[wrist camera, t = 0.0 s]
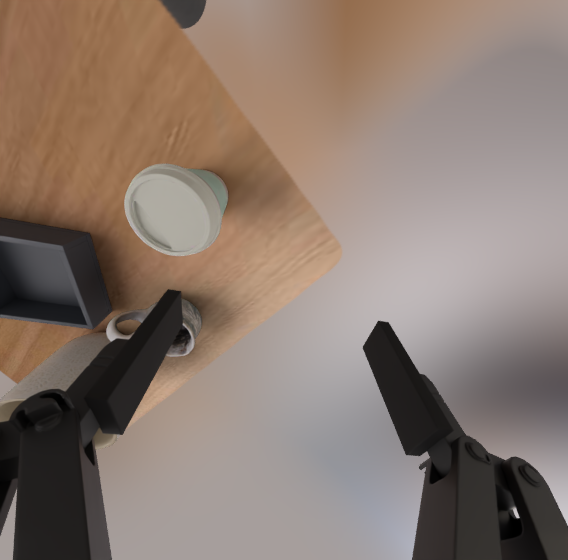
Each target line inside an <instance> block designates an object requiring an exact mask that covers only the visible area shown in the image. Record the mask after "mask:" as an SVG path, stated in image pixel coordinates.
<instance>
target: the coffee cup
mask: <svg viewBox="0 0 568 560" xmlns="http://www.w3.org/2000/svg"><path fill="white" fill-rule="evenodd" d="M227 203H228V190H227V187H226V185H225V183H224V182H223V180H222V179H221V178H220V177H219V176H218V175H216V174H215V173H213V172H211V171H208V170H199V169H185V168H183V167H180V166H176V165H172V164H157V165H153V166H150V167H148V168H146V169H144V170H143V171H141V172H140V173H139V174H137V175H136V176H135V178H134V179H133V180H132V182H131V184H130V186H129V188H128V190H127V192H126V195H125V201H124V204H125V212H126V216H127V219H128V221H129V223H130V225H131V227H132V229H133V230H134V232H135V233H136V234H137V235H138V236H139V238H140V239H141V240H142V241H144V242H145V243H146V244H147V245H149V246H150V247H152V248H153V249H155V250H157V251H159V252H162V253H164V254H168V255H173V256H186V255H190V254H195V253H199V252H201V251H203V250H205V249H206V248H208V247H209V246H210V245H211V244H212V243H213V242H214V241H215V240H216V238H217V237H218V235H219V232H220V229H221V222H222V216H223V214H224V211H225V208H226V205H227Z"/></svg>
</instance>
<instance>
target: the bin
mask: <svg viewBox="0 0 568 560" xmlns="http://www.w3.org/2000/svg"><path fill="white" fill-rule="evenodd" d="M111 312H112V308H111V304H110V301H109V298H108V294H107V291H106V287H105V284H104V280H103V277H102V274H101V270H100V267H99V263H98V260H97V256H96V253H95V249H94V246H93V243H92V239H91V236H90V233H86V232H80V231H74V230H69V229H63V228H57V227H51V226H46V225H40V224H34V223H28V222H22V221H17V220H11V219H5V218H0V318H7V319H15V320H23V321H31V322H39V323H47V324H55V325H63V326H71V327H79V328H87V329H94V328H95V327H97V326H98V325H99V324H100V323H101V322H102V321H103V320H104V319H105V318H106V317H107V316H108V315H109V314H110V313H111Z"/></svg>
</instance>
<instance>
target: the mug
mask: <svg viewBox="0 0 568 560" xmlns="http://www.w3.org/2000/svg"><path fill="white" fill-rule="evenodd" d="M181 300H182V315H183V325H182V326H181V328H180V330H179V332H178V334H177V336H176V337H175V339H174V341H173V343H172V345H171V347H170V348H169V350H168V352H167V354H166V356H171V357H176V356H184V355H187V354H189V353H190V352H191V351H192V349H193V348H194V346H195V339H196V337H197V336H198V334H199V332H200V329H201V325H202V318H201V315H200V313H199V311H198V309H197V308H196V307H195V306H194V305H193V304H191V303H190V302H188V301H187V300H184V299H181ZM158 302H159V301H158ZM158 302H156V303H155V304H153V305H151V306H150V307H149V308H147V309H138V310H131V311H127V312H123V313H121V314H119V315H117V316H115V317H114V318H113V319H112V320H111V321H110V322H109V324H108V326H107V330H106V334H107V337H108V339H109V340H110V341H111V342H112V341H113V340H115V339H116V338H121V339H130V338H131V336H132V335H133V334H134V332H133V333H132V334H130V335H123V334H122V333H120V332H119V331H118V330H117V326H116V324H117V323H119V322H122V321H124V320H129V319H131V320H137V321H139V322H141V323H142V322H143V321H144V320H145V318H146V317H147V316H148V314H149V313H150V312H151V311H152V309H153V308H154V307H155V305H156V304H157V303H158Z"/></svg>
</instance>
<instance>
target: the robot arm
mask: <svg viewBox="0 0 568 560" xmlns="http://www.w3.org/2000/svg"><path fill="white" fill-rule="evenodd" d="M182 325H183V315H182V300H181V291H175V290H169V289H168V290H167V291H166V293H165V294H164V295H163V296H162V298H161V299H160V300H159V302H158V303H157V304H156V305H155V307H154V308H153V309H152V311H151V312H150V313H149V314H148V316H147V317H146V318H145V320H144V321H143V322H142V323H141V325H140V326H139V327H138V329H137V330H136V331H135V332H134V334H133V335H132V336H131V338H130V339H121V338H116V339H115V340H113V341H112V342H110V343H109V344H107V345H106V346H104V348H103V349H102V350H101V351H100V352H99V353H98V354H97V356H96V358H94V359H93V360H92V361H91V363H90V364H89V366H87V367H86V368H85V369H84V371H83V372H82V373H81V374H80V375H79V376H78V377H77V379H76V380H75V381H74V382H73V383H72V384H71V385H70V387H69V388H68V389H67V390H66V391H63V390H61V389H48V390H44V391H41V392H38V393H36V394H34V395H32V396H30V397H29V398H27V399H26V400H24V401H23V402H22V403H20V404H19V405H18V406H17V408H16V409H15V410H14V411H13V412H12V414H11V416H10V419H9V420H8V421H4V422H0V535H1V532H2V529H3V526H4V523H5V521H6V518H7V514H8V512H9V509H10V506H11V503H12V500H13V497H14V495H15V492H16V489H17V502H16V518H15V535H14V551H13V560H112V557H111V550H110V543H109V537H108V530H107V523H106V516H105V510H104V503H103V496H102V490H101V484H100V476H99V469H98V463H97V456H96V449H95V442H94V439H93V437H94V435H95V434H96V432H97V431H98V429H99V427H100V429H101V431H102V433H103V434H117V435H123V433H124V431H125V429H126V427H127V426H128V424H129V422H130V420H131V418H132V416H133V415H134V413H135V411H136V409H137V407H138V405H139V404H140V402H141V400H142V398H143V396H144V394H145V393H146V391H147V389H148V387H149V385H150V383H151V382H152V380H153V378H154V376H155V374H156V372H157V371H158V369H159V367H160V365H161V363H162V361H163V359H164V358H165V356H166V354H167V352H168V350H169V348H170V347H171V345H172V343H173V341H174V339H175V337H176V336H177V334H178V332H179V330H180V328H181V326H182ZM363 350H364V352H365V355H366V357H367V360H368V362H369V365H370V367H371V369H372V372H373V374H374V377H375V379H376V382H377V384H378V387H379V389H380V392H381V394H382V397H383V399H384V402H385V404H386V407H387V409H388V412H389V414H390V416H391V419H392V421H393V424H394V426H395V429H396V431H397V434H398V436H399V439H400V441H401V444H402V446H403V449H404V451H405V454H406V455H413V456H420V455H422V454H423V453H425V452H426V451H427V452H428V454H429V456H430V458H429V459H428V460H426V461H425V462H423V463H422V464H421V465H420V466H419V469H420V470H422V469H423V468H425V467H426V472H425V479H424V485H423V492H422V498H421V505H420V511H419V518H418V524H417V531H416V537H415V545H414V551H413V557H412V560H568V526H567V523H566V521H565V519H564V517H563V515H562V513H561V511H560V509H559V507H558V505H557V503H556V501H555V499H554V497H553V494H552V493H551V491H550V488H549V486H548V485H547V483H546V481H545V480H544V478H543V477H542V476H541V475H540V473H539V472H538V471H537V470H536V469H535V468H534V467H533V466H531V465H530V464H529V463H528V462H526V461H525V460H523V459H521V458H518V457H511V458H509V459H507V460H504V459H501V458H499V457H497V456H495V455H492V454H490V453H488V452H487V451H486V449H485V448H484V447H483V446H482V445H481V444H480V443H479V442H477V441H476V440H475V439H473V438H471V437H470V436H466V434H465V433H464V431H463V430H462V428H461V427H460V425H459V424H458V422H457V421H456V419H455V417H454V416H453V414H452V413H451V411H450V409H449V408H448V406H447V405H446V403H444V400H443V398H442V397H441V395H439V392H438V391H437V389H436V387H435V386H434V384H433V383H432V382H431V381H430V380H429V379H428V378H427V377H426V376H425V375H423V374H419V372H418V370H417V369H416V367H415V365H414V364H413V362H412V360H411V359H410V357H409V355H408V354H407V352H406V351H405V349H404V347H403V346H402V344H401V342H400V341H399V339H398V337H397V336H396V334H395V332H394V331H393V329H392V327H391V326H390V324H389V323H388V322H383V321H378V322H377V324H376V326H375V327H374V329H373V331H372V332H371V334H370V336H369V337H368V339H367V341H366V342H365V344H364V346H363ZM515 508H516V509H517V512H518V514H519V517H520V518H516V517H515V515H514V512H513V509H515Z"/></svg>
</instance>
